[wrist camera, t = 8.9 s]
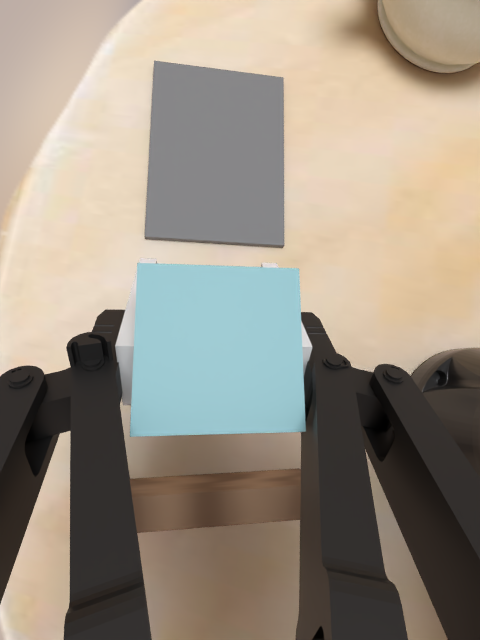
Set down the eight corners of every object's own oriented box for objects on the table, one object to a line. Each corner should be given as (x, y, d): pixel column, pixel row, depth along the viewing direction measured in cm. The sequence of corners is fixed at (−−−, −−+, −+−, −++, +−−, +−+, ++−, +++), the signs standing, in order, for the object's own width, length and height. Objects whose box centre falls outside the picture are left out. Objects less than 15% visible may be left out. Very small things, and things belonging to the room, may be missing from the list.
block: (248, 323, 21) (299, 268, 12) (250, 411, 20) (305, 431, 11) (161, 322, 21) (137, 262, 11) (159, 412, 20) (130, 436, 10)
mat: (281, 82, 38) (283, 77, 37) (282, 247, 35) (284, 245, 35) (154, 65, 36) (154, 60, 36) (145, 238, 34) (144, 236, 33)
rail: (298, 468, 33) (318, 484, 28) (299, 496, 32) (319, 518, 28) (114, 479, 31) (100, 499, 26) (113, 509, 30) (99, 535, 25)
